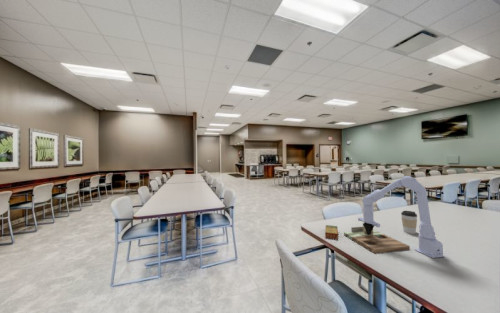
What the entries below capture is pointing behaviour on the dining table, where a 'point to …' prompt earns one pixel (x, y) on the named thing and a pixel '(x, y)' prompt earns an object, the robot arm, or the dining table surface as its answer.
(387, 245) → the board
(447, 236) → the dining table surface
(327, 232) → the carton
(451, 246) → the dining table surface
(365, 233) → the block
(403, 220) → the coffee cup
